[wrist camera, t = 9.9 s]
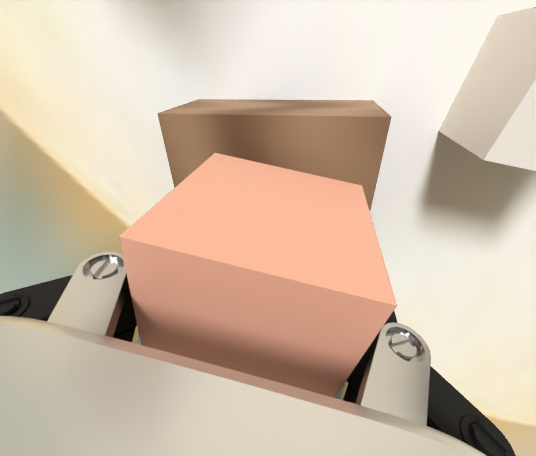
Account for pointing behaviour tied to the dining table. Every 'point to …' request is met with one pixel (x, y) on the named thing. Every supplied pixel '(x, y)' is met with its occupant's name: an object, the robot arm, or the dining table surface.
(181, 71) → the dining table surface
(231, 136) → the walnut base block
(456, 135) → the pale grey cube
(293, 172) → the terracotta cube
